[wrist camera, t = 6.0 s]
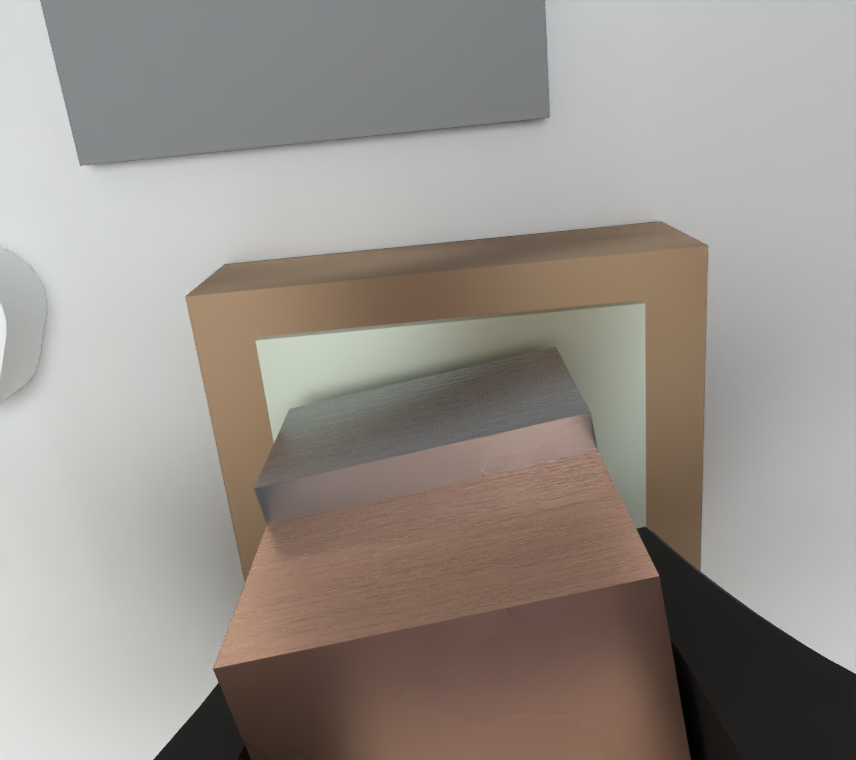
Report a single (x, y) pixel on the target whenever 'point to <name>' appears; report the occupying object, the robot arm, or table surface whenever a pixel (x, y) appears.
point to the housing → (450, 583)
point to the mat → (289, 70)
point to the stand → (472, 348)
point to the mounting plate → (19, 322)
